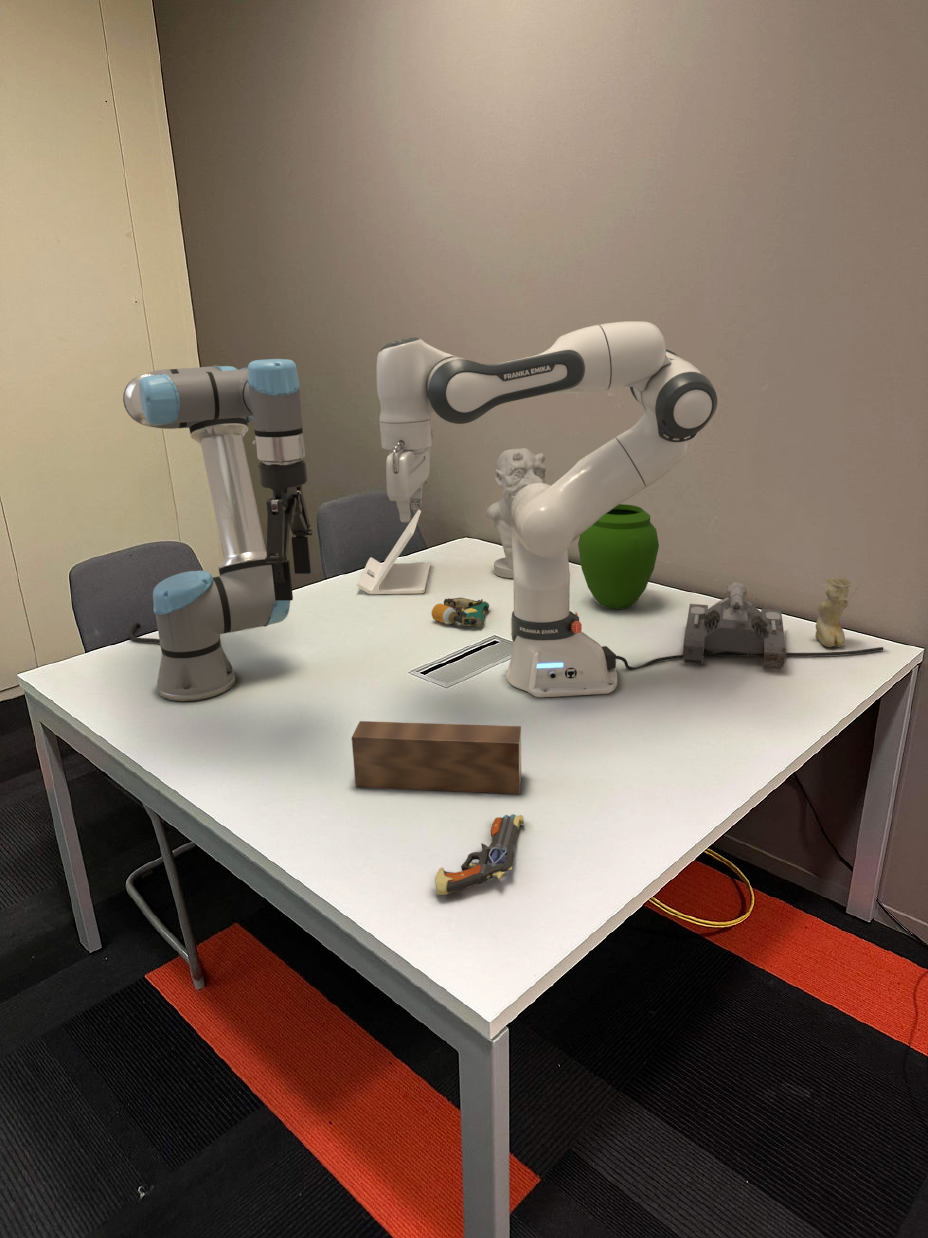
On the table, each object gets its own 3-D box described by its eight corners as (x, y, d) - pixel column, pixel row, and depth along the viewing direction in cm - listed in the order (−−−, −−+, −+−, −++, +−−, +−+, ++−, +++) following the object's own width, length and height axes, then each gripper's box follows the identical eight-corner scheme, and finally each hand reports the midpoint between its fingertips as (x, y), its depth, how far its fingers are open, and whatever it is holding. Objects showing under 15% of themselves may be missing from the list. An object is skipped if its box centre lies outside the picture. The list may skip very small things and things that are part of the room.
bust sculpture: (503, 593, 225) (502, 460, 212) (483, 567, 247) (480, 445, 234) (562, 587, 228) (563, 456, 215) (536, 562, 250) (536, 441, 237)
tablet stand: (430, 565, 250) (428, 508, 244) (424, 593, 227) (421, 531, 221) (369, 566, 251) (365, 509, 245) (356, 594, 227) (352, 532, 221)
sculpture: (821, 649, 184) (830, 583, 179) (808, 637, 191) (816, 573, 185) (848, 649, 184) (858, 582, 179) (834, 636, 191) (843, 572, 185)
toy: (688, 623, 201) (692, 562, 195) (778, 630, 195) (785, 567, 190) (681, 666, 178) (686, 598, 173) (783, 675, 172) (791, 605, 167)
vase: (599, 587, 227) (601, 497, 218) (668, 600, 216) (673, 505, 208) (562, 608, 212) (564, 513, 204) (634, 623, 202) (639, 523, 193)
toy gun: (430, 883, 110) (506, 883, 108) (458, 810, 128) (523, 809, 126) (433, 901, 111) (508, 901, 109) (460, 826, 129) (525, 825, 127)
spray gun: (451, 605, 219) (505, 614, 213) (420, 623, 205) (478, 633, 199) (451, 589, 218) (506, 598, 212) (421, 606, 203) (478, 616, 197)
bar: (521, 775, 140) (521, 726, 136) (519, 794, 134) (518, 743, 131) (363, 769, 143) (359, 720, 140) (355, 787, 138) (351, 737, 134)
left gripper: (277, 446, 148) (289, 563, 156) (235, 477, 125) (251, 612, 133) (320, 446, 148) (330, 563, 156) (286, 476, 125) (299, 612, 132)
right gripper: (412, 446, 138) (417, 529, 143) (434, 427, 157) (438, 501, 162) (374, 447, 139) (380, 529, 144) (400, 428, 158) (405, 502, 163)
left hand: (294, 586), depth 144 cm, fingers open, 13 cm apart
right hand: (411, 514), depth 153 cm, fingers open, 8 cm apart
